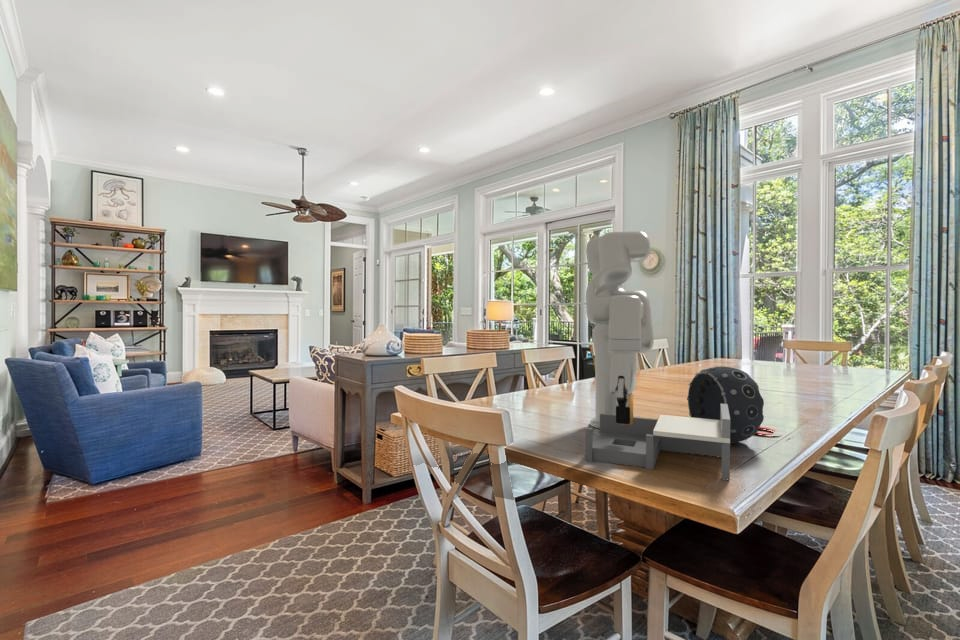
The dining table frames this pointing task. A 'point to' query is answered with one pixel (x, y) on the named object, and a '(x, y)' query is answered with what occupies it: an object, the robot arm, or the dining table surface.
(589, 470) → the dining table surface
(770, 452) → the dining table surface
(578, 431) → the dining table surface
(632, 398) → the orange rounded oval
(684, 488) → the dining table surface
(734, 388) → the studded black wheel
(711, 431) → the lid
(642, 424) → the housing
